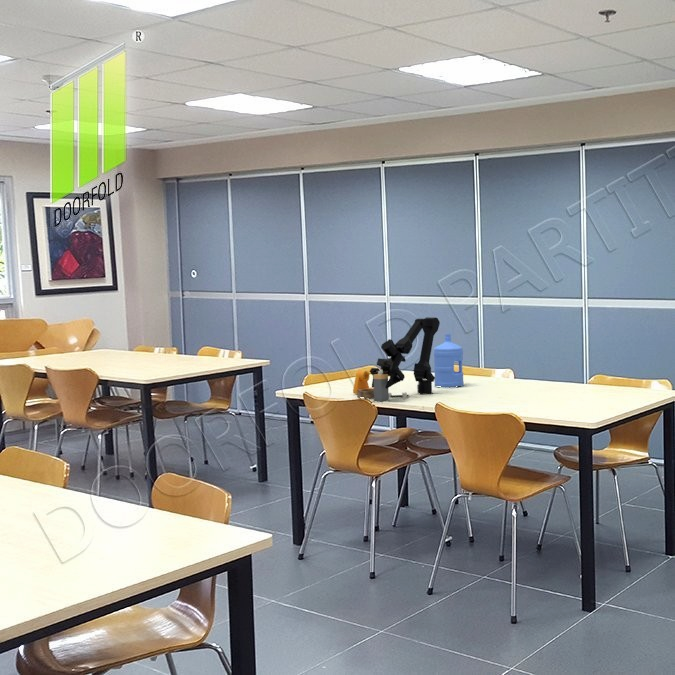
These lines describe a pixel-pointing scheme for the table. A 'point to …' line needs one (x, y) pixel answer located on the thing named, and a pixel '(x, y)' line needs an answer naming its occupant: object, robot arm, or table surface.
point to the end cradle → (365, 393)
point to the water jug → (448, 364)
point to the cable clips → (402, 394)
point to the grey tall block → (380, 387)
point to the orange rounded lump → (361, 381)
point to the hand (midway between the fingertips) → (379, 387)
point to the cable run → (397, 395)
